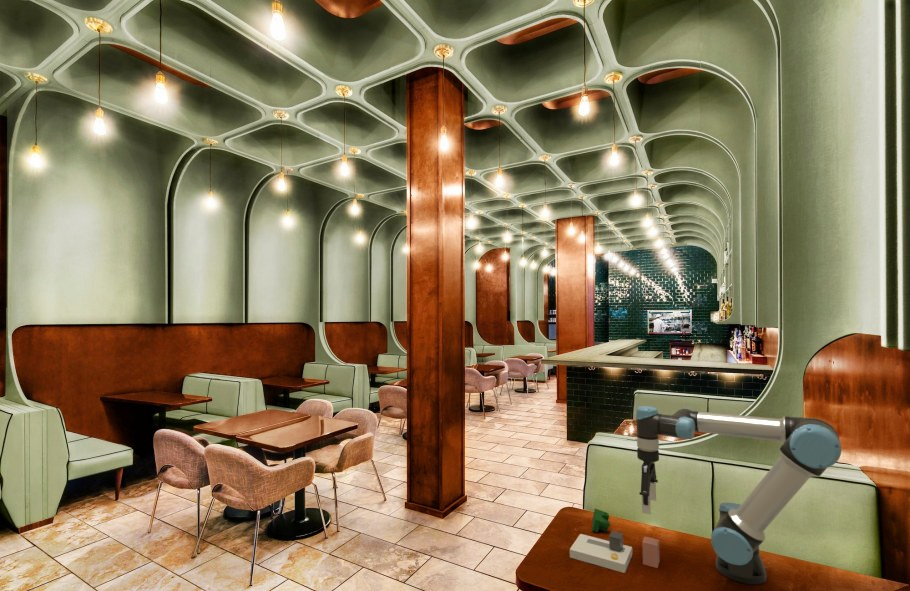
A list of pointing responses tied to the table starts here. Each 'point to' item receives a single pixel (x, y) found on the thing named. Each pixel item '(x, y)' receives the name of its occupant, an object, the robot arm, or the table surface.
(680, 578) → the table surface
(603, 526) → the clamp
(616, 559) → the block
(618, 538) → the breaker toggle
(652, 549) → the post
